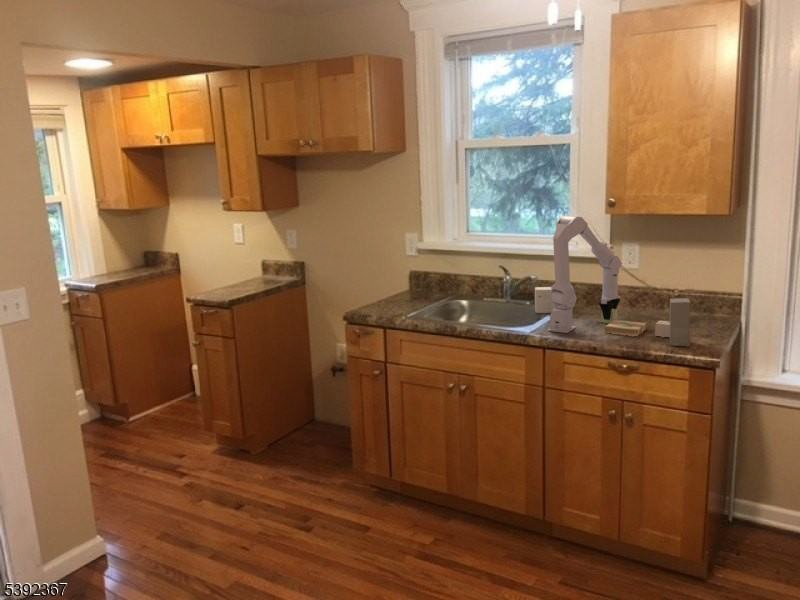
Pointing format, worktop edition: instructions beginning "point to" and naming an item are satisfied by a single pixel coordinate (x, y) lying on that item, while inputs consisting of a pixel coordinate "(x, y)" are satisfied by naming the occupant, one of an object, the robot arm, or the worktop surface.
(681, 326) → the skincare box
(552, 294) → the robot arm
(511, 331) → the worktop surface
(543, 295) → the small box
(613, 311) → the sage block
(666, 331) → the grey block
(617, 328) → the birch base block
